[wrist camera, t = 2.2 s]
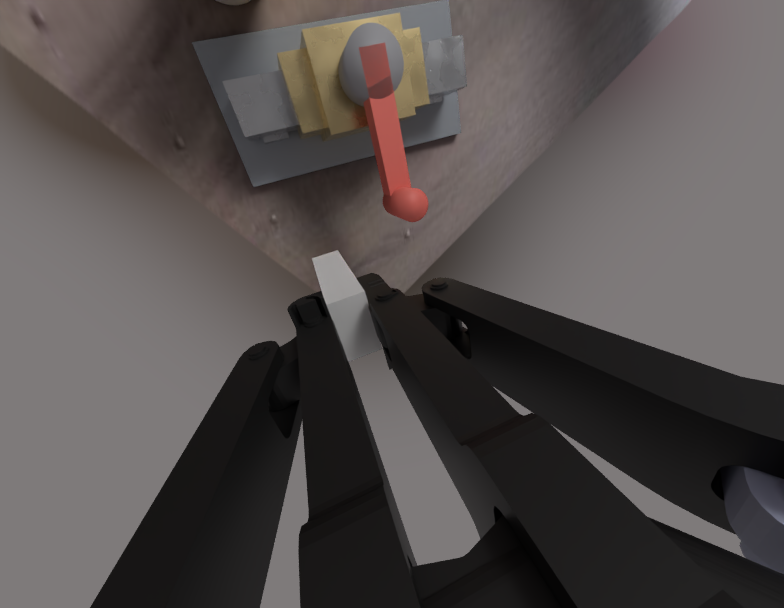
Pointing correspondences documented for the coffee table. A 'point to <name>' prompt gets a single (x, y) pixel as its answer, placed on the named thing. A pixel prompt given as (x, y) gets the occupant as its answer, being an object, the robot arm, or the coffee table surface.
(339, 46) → the pipe valve
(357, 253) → the coffee table surface
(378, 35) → the lever
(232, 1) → the coffee cup
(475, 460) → the robot arm
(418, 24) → the mount board
